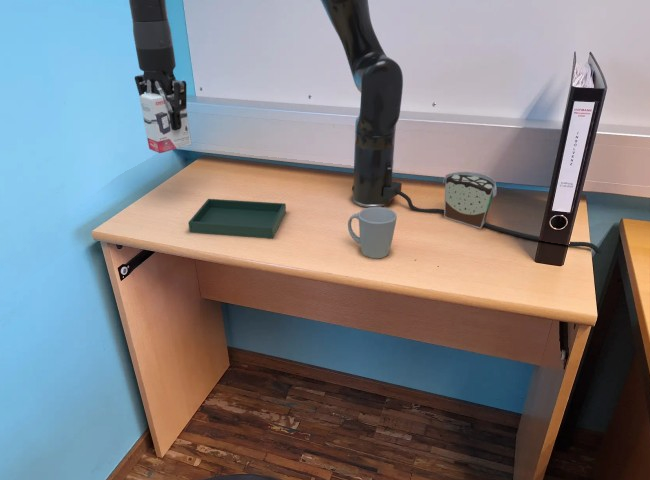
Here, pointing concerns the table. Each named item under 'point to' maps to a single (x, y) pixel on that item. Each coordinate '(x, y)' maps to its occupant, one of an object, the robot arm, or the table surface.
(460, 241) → the table surface
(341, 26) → the robot arm
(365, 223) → the cup
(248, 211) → the desk tray
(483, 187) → the food container
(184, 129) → the ink box
